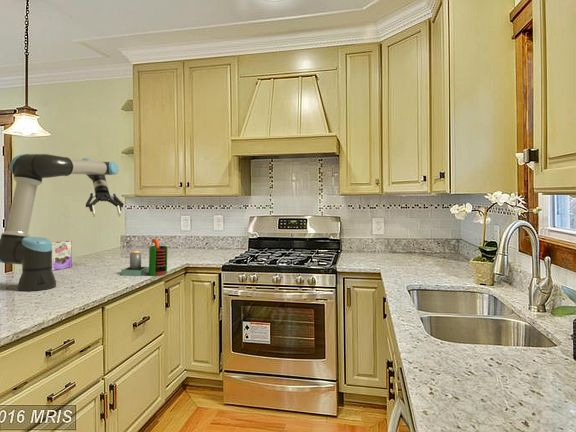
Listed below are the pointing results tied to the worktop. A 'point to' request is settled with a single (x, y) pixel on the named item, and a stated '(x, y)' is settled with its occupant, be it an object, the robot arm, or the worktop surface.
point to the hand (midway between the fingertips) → (107, 215)
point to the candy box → (61, 255)
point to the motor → (157, 259)
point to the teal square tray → (135, 271)
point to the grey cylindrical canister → (135, 260)
